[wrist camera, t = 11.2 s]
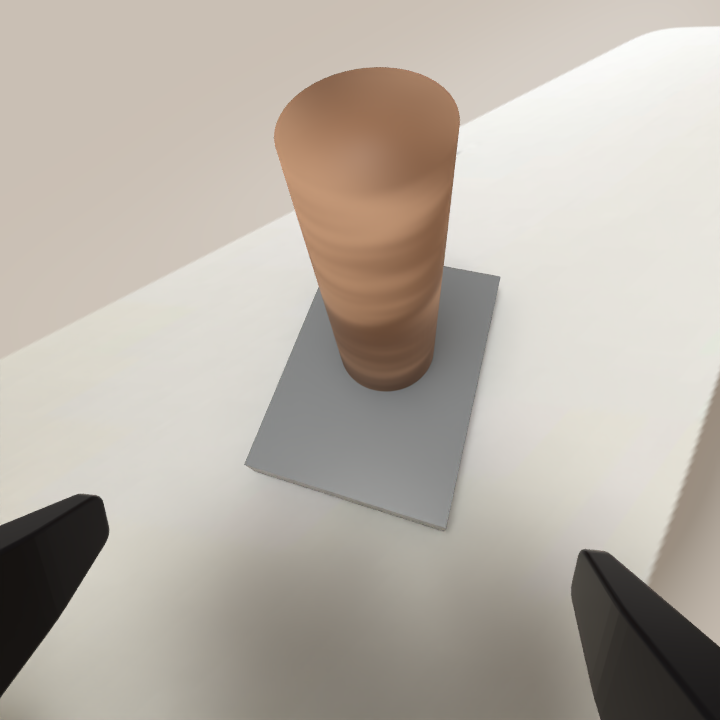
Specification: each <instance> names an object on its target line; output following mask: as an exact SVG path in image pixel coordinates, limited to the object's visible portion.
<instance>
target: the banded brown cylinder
mask: <svg viewBox="0 0 720 720" xmlns="http://www.w3.org/2000/svg"><path fill="white" fill-rule="evenodd" d="M459 125H460V117H459V111H458V108H457V105H456V103H455V101H454V99H453V98H452V96H451V95H450V94H449V93H448V92H447V91H446V89H445V88H444V87H442V86H441V85H439V84H438V83H437V82H435V81H434V80H432V79H430V78H428V77H426V76H423V75H421V74H418V73H415V72H412V71H407V70H403V69H397V68H386V67H385V68H384V67H374V68H362V69H355V70H350V71H345V72H342V73H338V74H335V75H332V76H330V77H327V78H324V79H322V80H320V81H318V82H316V83H314V84H312V85H311V86H309V87H308V88H306V89H304V90H303V91H302V92H300V93H299V94H298V95H297V96H295V97H294V98H293V99H292V100H291V101H290V102H289V103H288V105H287V106H286V107H285V108H284V110H283V112H282V113H281V115H280V117H279V119H278V121H277V123H276V127H275V133H274V141H275V147H276V150H277V153H278V156H279V160H280V163H281V166H282V170H283V173H284V176H285V179H286V182H287V185H288V189H289V192H290V195H291V198H292V202H293V205H294V208H295V211H296V215H297V218H298V221H299V224H300V227H301V231H302V234H303V237H304V240H305V243H306V247H307V250H308V253H309V256H310V260H311V263H312V266H313V269H314V272H315V276H316V279H317V282H318V285H319V288H320V292H321V295H322V298H323V301H324V305H325V308H326V311H327V314H328V317H329V321H330V324H331V327H332V330H333V333H334V337H335V340H336V343H337V346H338V349H339V353H340V356H341V359H342V362H343V365H344V367H345V369H346V371H347V372H348V374H349V375H350V376H351V377H352V378H353V379H354V380H355V381H356V382H357V383H359V384H361V385H362V386H364V387H366V388H369V389H372V390H376V391H396V390H400V389H403V388H406V387H408V386H410V385H412V384H414V383H415V382H417V381H418V380H419V379H420V378H421V377H422V376H423V375H424V374H425V373H426V371H427V370H428V368H429V366H430V364H431V362H432V359H433V353H434V345H435V336H436V328H437V319H438V310H439V301H440V292H441V284H442V275H443V266H444V257H445V248H446V240H447V231H448V222H449V213H450V204H451V195H452V187H453V178H454V169H455V160H456V151H457V143H458V134H459Z"/></svg>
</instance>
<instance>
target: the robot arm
mask: <svg viewBox="0 0 720 720" xmlns="http://www.w3.org/2000/svg"><path fill="white" fill-rule="evenodd" d="M108 536H109V525H108V521H107V516H106V512H105V507H104V503H103V500H102V499H101V498H100V497H99V496H97V495H89V494H77V495H74V496H71V497H69V498H67V499H64V500H62V501H59V502H57V503H54V504H52V505H49V506H47V507H45V508H42V509H40V510H37V511H35V512H32V513H30V514H27V515H25V516H23V517H20V518H18V519H15V520H13V521H10V522H8V523H6V524H3V525H1V526H0V698H1V696H2V695H3V694H4V692H5V691H6V690H7V688H8V687H9V685H10V684H11V683H12V681H13V680H14V679H15V677H16V676H17V675H18V673H19V672H20V671H21V669H22V668H23V666H24V665H25V664H26V662H27V661H28V660H29V658H30V657H31V656H32V654H33V653H34V652H35V650H36V649H37V647H38V646H39V645H40V643H41V642H42V641H43V639H44V638H45V637H46V635H47V634H48V632H49V631H50V630H51V628H52V627H53V625H54V624H55V623H56V621H57V620H58V618H59V617H60V615H61V614H62V612H63V611H64V609H65V608H66V606H67V605H68V603H69V601H70V600H71V598H72V597H73V595H74V593H75V592H76V590H77V588H78V587H79V585H80V584H81V582H82V580H83V579H84V577H85V576H86V574H87V572H88V571H89V569H90V567H91V566H92V564H93V563H94V561H95V559H96V558H97V556H98V554H99V553H100V551H101V550H102V548H103V546H104V545H105V543H106V541H107V539H108ZM571 596H572V603H573V607H574V611H575V616H576V620H577V625H578V629H579V634H580V638H581V643H582V647H583V652H584V656H585V661H586V665H587V670H588V674H589V679H590V683H591V687H592V691H593V695H594V699H595V703H596V706H597V709H598V713H599V716H600V719H601V720H720V647H719V646H718V645H717V644H716V643H714V642H713V641H712V640H711V639H710V638H709V637H707V636H706V635H705V634H704V633H702V632H701V631H700V630H699V629H698V628H697V627H696V626H694V625H693V624H692V623H691V622H689V621H688V620H687V619H686V618H685V617H684V616H683V615H682V614H680V613H679V612H678V611H677V610H676V609H674V608H673V607H672V606H671V605H670V604H669V603H667V602H666V601H665V600H664V599H663V598H662V597H660V596H659V595H658V594H657V593H656V592H654V591H653V590H652V589H651V588H650V587H649V586H647V585H646V584H645V583H644V582H643V581H642V580H640V579H639V578H638V577H637V576H636V575H635V574H633V573H632V572H631V571H630V570H629V569H627V568H626V567H625V566H624V565H623V564H622V563H620V562H619V561H618V560H617V559H616V558H615V557H613V556H612V555H611V554H609V553H608V552H605V551H599V550H590V549H583V550H581V551H580V553H579V555H578V558H577V563H576V567H575V572H574V576H573V581H572V585H571Z"/></svg>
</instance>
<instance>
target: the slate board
mask: <svg viewBox="0 0 720 720" xmlns="http://www.w3.org/2000/svg"><path fill="white" fill-rule="evenodd" d="M499 281H500V277H499V276H494V275H489V274H483V273H478V272H472V271H467V270H462V269H456V268H451V267H445V266H443V275H442V284H441V292H440V301H439V310H438V319H437V328H436V336H435V345H434V353H433V359H432V362H431V364H430V366H429V368H428V370H427V371H426V373H425V374H424V375H423V376H422V377H421V378H420V379H419V380H418V381H417V382H415V383H414V384H412V385H410V386H408V387H406V388H403V389H400V390H396V391H376V390H372V389H369V388H366V387H364V386H362V385H361V384H359V383H357V382H356V381H355V380H354V379H353V378H352V377H351V376H350V375H349V374H348V372H347V371H346V369H345V367H344V365H343V362H342V359H341V356H340V353H339V349H338V346H337V343H336V340H335V337H334V333H333V330H332V327H331V324H330V321H329V317H328V314H327V311H326V308H325V305H324V301H323V298H322V295H321V292H320V288H319V287H318V290H317V292H316V295H315V297H314V299H313V302H312V304H311V307H310V309H309V311H308V314H307V316H306V318H305V321H304V323H303V326H302V328H301V330H300V333H299V335H298V338H297V340H296V342H295V345H294V347H293V349H292V352H291V354H290V357H289V359H288V361H287V364H286V366H285V369H284V371H283V373H282V376H281V378H280V380H279V383H278V385H277V388H276V390H275V392H274V395H273V397H272V400H271V402H270V404H269V407H268V409H267V411H266V414H265V416H264V419H263V421H262V423H261V426H260V428H259V431H258V433H257V435H256V438H255V440H254V442H253V445H252V447H251V450H250V452H249V454H248V457H247V459H246V462H245V464H244V465H246V466H247V467H249V468H251V469H252V470H254V471H256V472H260V473H263V474H266V475H269V476H272V477H275V478H278V479H282V480H285V481H288V482H291V483H294V484H297V485H300V486H304V487H307V488H310V489H313V490H316V491H319V492H322V493H325V494H329V495H332V496H335V497H338V498H341V499H344V500H347V501H351V502H354V503H357V504H360V505H363V506H366V507H369V508H373V509H376V510H379V511H382V512H385V513H388V514H391V515H395V516H398V517H401V518H404V519H407V520H410V521H413V522H417V523H420V524H423V525H426V526H429V527H432V528H435V529H439V530H442V531H444V530H445V529H446V526H447V521H448V517H449V512H450V508H451V503H452V498H453V494H454V489H455V484H456V480H457V475H458V471H459V466H460V461H461V457H462V452H463V447H464V443H465V438H466V434H467V429H468V424H469V420H470V415H471V410H472V406H473V401H474V397H475V392H476V387H477V383H478V378H479V373H480V369H481V364H482V360H483V355H484V350H485V346H486V341H487V336H488V332H489V327H490V323H491V318H492V313H493V309H494V304H495V299H496V295H497V290H498V286H499Z"/></svg>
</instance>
